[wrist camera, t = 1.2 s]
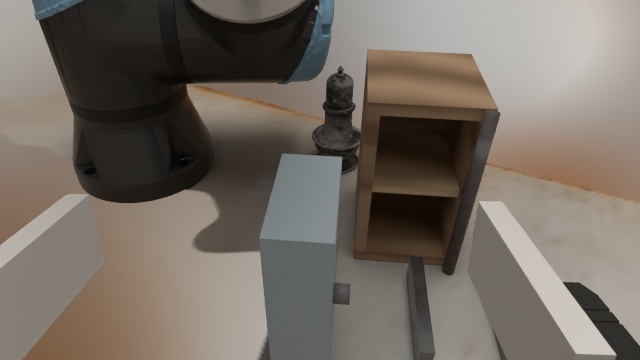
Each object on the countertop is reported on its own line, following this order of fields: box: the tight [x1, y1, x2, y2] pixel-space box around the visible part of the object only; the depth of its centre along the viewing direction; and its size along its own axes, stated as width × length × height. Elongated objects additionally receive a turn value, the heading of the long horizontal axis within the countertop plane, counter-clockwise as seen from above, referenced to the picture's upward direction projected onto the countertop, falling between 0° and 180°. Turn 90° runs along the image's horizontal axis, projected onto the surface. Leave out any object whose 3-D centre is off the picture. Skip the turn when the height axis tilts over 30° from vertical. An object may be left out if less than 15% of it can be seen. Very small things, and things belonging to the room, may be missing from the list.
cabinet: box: [354, 49, 500, 275], centre depth 39 cm, size 11×9×16 cm
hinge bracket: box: [407, 256, 507, 360], centre depth 35 cm, size 9×8×2 cm
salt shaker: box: [312, 66, 361, 174], centre depth 50 cm, size 6×6×12 cm
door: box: [259, 153, 350, 360], centre depth 31 cm, size 8×5×14 cm, turn 175°
